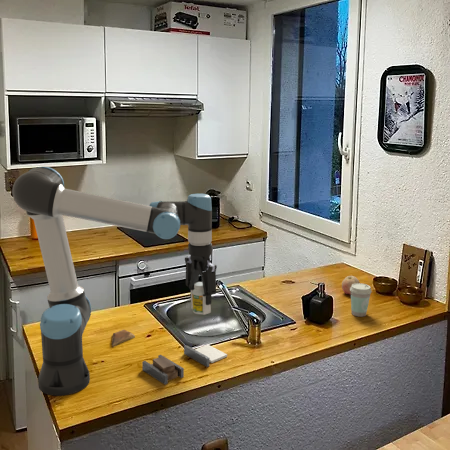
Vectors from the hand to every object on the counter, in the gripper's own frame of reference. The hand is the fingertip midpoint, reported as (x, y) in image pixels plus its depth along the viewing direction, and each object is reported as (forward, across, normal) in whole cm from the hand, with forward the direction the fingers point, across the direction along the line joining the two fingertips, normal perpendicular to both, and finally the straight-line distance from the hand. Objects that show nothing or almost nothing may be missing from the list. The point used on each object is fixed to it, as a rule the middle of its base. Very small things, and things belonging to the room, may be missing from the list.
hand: (200, 310), depth 180 cm
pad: (+18, +1, -4) cm, 18 cm away
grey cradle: (+17, 0, +10) cm, 20 cm away
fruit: (+19, +6, -91) cm, 93 cm away
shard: (+18, +29, +12) cm, 36 cm away
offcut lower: (+18, 0, +15) cm, 23 cm away
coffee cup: (+19, -11, -75) cm, 78 cm away
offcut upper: (+15, 0, +15) cm, 22 cm away
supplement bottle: (0, 0, 0) cm, 0 cm away
